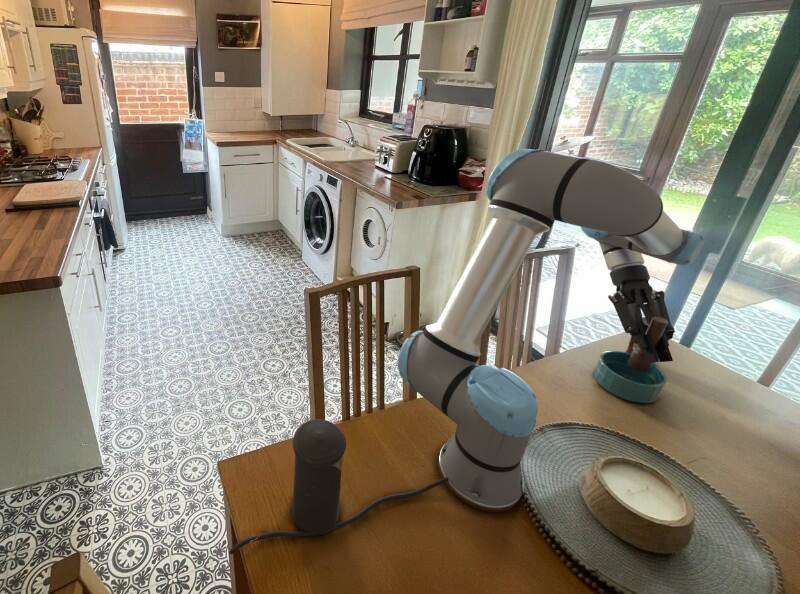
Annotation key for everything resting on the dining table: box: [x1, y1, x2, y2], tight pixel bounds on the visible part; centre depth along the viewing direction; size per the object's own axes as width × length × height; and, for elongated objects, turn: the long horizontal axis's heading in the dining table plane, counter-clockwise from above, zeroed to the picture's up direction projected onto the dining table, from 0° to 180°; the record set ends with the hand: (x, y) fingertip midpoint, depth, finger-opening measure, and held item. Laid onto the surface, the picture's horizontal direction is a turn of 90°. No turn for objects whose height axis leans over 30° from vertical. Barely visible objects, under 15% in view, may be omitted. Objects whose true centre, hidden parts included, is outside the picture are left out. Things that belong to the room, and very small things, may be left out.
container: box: [291, 418, 347, 537], centre depth 70 cm, size 9×9×20 cm
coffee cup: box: [625, 316, 676, 365], centre depth 110 cm, size 9×8×13 cm
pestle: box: [628, 317, 668, 372], centre depth 100 cm, size 4×4×14 cm
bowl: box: [593, 350, 668, 404], centre depth 103 cm, size 13×13×6 cm
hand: (659, 361), depth 97 cm, fingers closed on pestle, 3 cm apart
